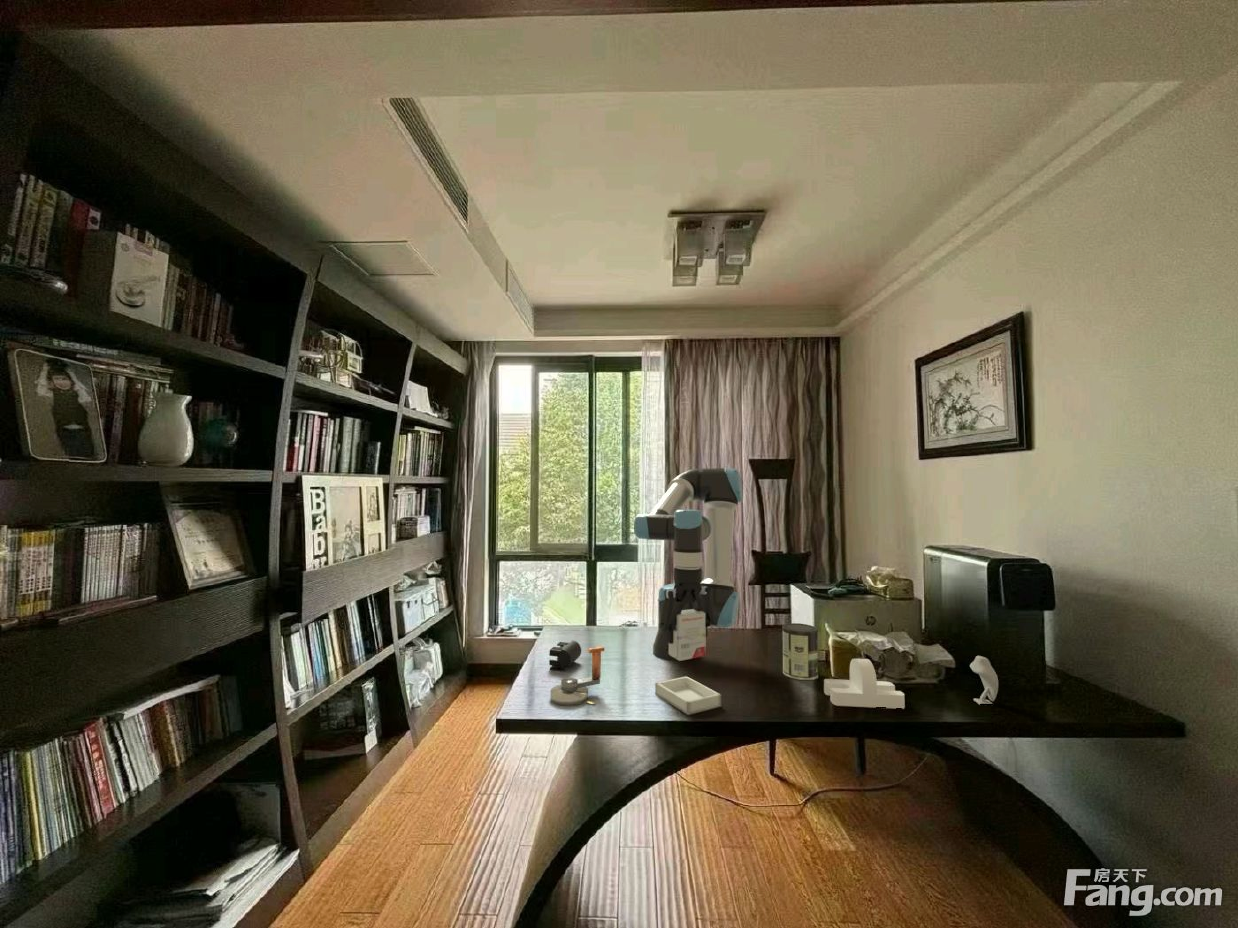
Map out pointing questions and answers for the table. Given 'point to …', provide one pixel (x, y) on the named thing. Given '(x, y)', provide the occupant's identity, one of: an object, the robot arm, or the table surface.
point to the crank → (574, 684)
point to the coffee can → (800, 651)
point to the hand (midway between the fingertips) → (687, 652)
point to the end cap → (564, 655)
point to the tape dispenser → (863, 688)
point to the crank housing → (569, 696)
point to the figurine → (985, 679)
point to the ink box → (690, 634)
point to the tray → (688, 695)
